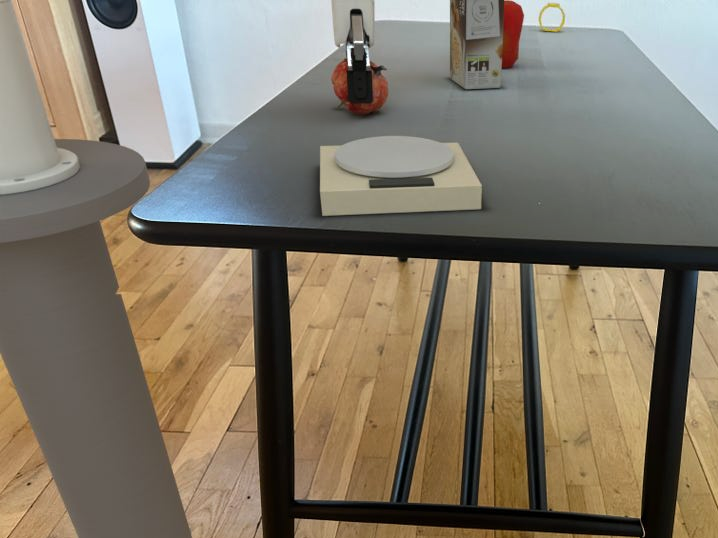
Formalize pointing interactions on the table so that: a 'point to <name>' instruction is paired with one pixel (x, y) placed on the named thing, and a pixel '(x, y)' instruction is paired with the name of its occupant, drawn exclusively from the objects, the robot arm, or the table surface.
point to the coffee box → (476, 43)
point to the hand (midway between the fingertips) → (359, 94)
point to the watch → (552, 6)
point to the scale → (396, 177)
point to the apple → (511, 32)
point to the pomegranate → (377, 82)
